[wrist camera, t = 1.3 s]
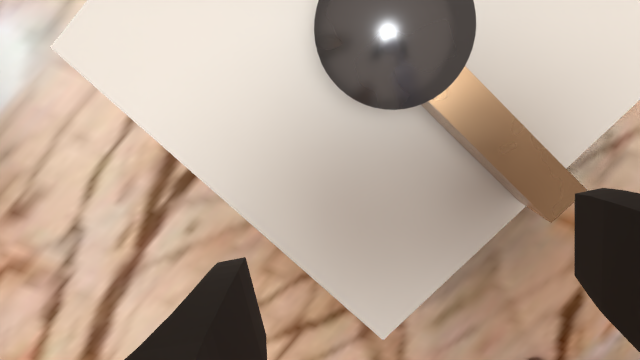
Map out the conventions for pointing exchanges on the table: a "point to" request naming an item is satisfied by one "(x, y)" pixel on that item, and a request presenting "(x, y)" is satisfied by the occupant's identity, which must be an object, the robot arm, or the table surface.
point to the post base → (353, 127)
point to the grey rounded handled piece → (437, 86)
